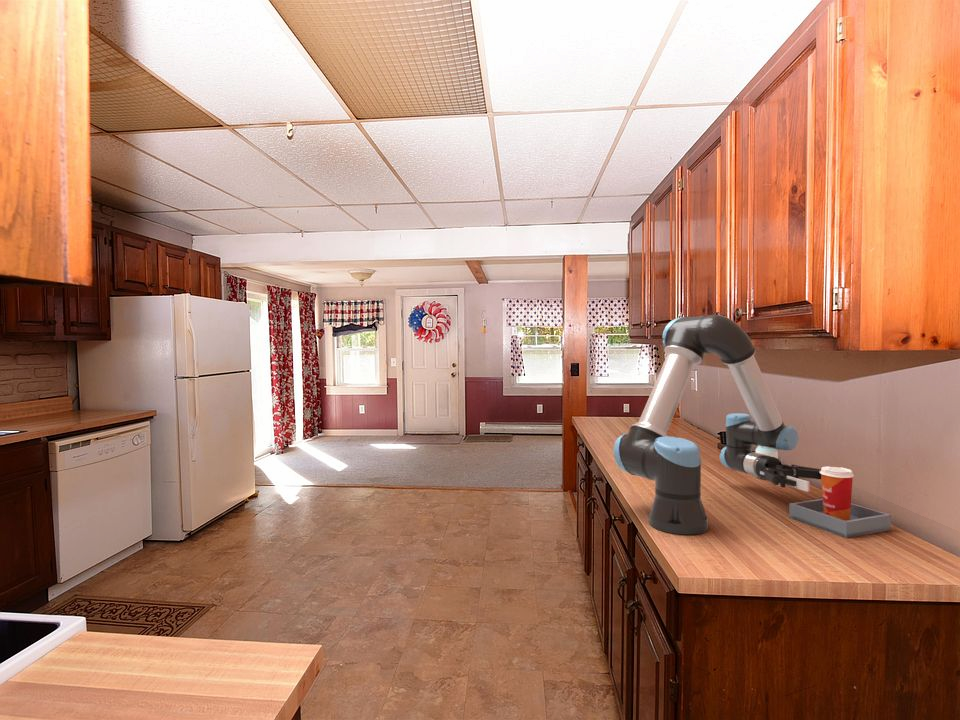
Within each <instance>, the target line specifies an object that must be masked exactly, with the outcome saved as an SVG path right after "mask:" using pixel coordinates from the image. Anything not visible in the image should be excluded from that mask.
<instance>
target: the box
mask: <svg viewBox="0 0 960 720" xmlns="http://www.w3.org/2000/svg"><path fill="white" fill-rule="evenodd" d="M788 506H789V509H788V510H789V511H788V512H789V515H788V516H789V518H790V519H791V520H792V519H793V520H795V521H798V522H801V523H803V524H806V525H810V526H813V527H814V528H818V529H820V530H822V531H825V532H828V533H831V534H834V535H837V536H839V537H842V538H845V539H848V538H853V537H858V536H865V535H870V534H871V535H872V534H875V533H876V534H877V533H882V532H886V531H891V530H892V514H890V513H886V512H884V511H883V512H882V511H880V510H876V509H873V508H869V507H867V506H862V505H858V504H856V503H852V502H851V512H850V520H848V521H844V520H841V519H838V518H835V517H832V516H829V515H826V514H824V508H823V498H819V499H817V498H816V499H812V500H804V501H797V502H791V503H789V505H788Z"/></svg>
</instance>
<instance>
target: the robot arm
mask: <svg viewBox="0 0 960 720" xmlns="http://www.w3.org/2000/svg"><path fill="white" fill-rule="evenodd" d="M662 339H663V340H662V345H663V347H664V349H663V351H664V354H665V355H666V357H665V359H664V362H663V364H662V366H661V369H660V371H659V372H658V376H657V378H656V381H655V382H654V385H653V387H652V390H651V393H650V395H649V397H648V399H647V402H646V403H645V406H644V409H643V410H642V413H641V415H640V417H639V419H638V422H636V423H633V424H631V426H630V428H629V431H628V432H627V433H623V434H622V435H619V437H617V439H616V440H615V443H614V445H613V450H612V451H613V458H614V461H615V463H616V465H617V467H618V468H619V469H620V470H621V471H623V472H626V473H628V474H630V475H632V476H636V477H640V478H644V479H646V480H647V479H648V480H650V481H653V482H654V484H655V485H654V489H655V490H654V491H655V495H654V497H653V498H654V499H653V501H652V504H651V508H650V511H649V514H648V524H649V525H650V526H651V527H652V528H655V529H656V530H659V531H662V532H666V533H669V534H674V535H675V534H676V535H688V536H689V535H699V534H703V533H705V532H707V531H708V529H709V519H708V516H707V514H706V511H705V508H704V504H703V502H702V498H701V496H702V493H701V491H702V490H701V488H702V486H701V484H702V482H701V481H702V480H701V478H702V477H701V476H702V475H701V474H702V458H701V450H700V447H699V446H698V445H697V444H696V443H695V442H693V441H691V440H689V439H687V438H682V437H675V436H668V435H667V433H668V430H669V427H670V426H671V423H672V421H673V418H674V416H675V413H676V411H677V408H678V406H679V403H680V402H681V399H682V396H683V394H684V391H685V389H686V386H687V385H688V383H689V379H690V378H691V374H692V371H693V369H694V368H695V366H698V365H701V364H702V363H703V362H702V361H703V360H704V356H705V355H706V354H715V355H717V357H718V358H719V359H720V361H721V363H722V364H724V365H727V367H728V369H729V372H730V373H731V376H732V378H733V380H734V382H735V384H736V386H737V389H738V391H739V393H740V395H741V398H743V399H742V400H743V401H744V403H745V406H746V408H747V410H748V411H749V412H748V413H749V414H748V413H742V412H741V413H740V412H739V413H736V412H735V413H734V412H733V413H729V414H727V415H726V418H725V436H726V439H725V441H726V446H724V447H723V448H722V449H721V451H720V453H719V461H720V464H722V465H723V466H724V467H726V468H727V469H730V470H732V471H736V472H740V473H744V474H746V475H750V476H752V477H753V476H754V478H755V479H757V478H758V477H760V478H762V479H761V480H764V479H766V480H765V481H768V482H770V483H771V484H773V485H775V486H778V485H779V484H780V487H781V488H786V487H791V488H793V489H794V488H795V489H797V490H801V491H804V492H807V493H808V492H809V493H810V489H811V488H810V487H811V486H810V480H809V481H808V480H804V479H805V478H806V479H814V480H821V474H820V473H819V472H820V471H821V468H815V467H810V466H809V467H808V466H807V467H806V466H802V465H801V466H800V465H796V464H791V465H790V464H783V463H782V462H781V461H780V459H779V458H778V459H777V458H775V457H771V456H767V455H764V454H760V453H756V451H752V446H753V445H754V446H757V447H758V446H763V447H769V448H774V449H777V450H780V451H781V450H782V451H792V450H794V449H795V448H796V447H797V445H798V443H799V432H798V430H797V429H796V428H795V427H793V426H789V425H785V422H784V420H783V418H782V417H781V416H782V415H781V414H780V412H779V410H778V408H777V404H776V403H775V401H774V398H773V396H772V394H771V391H770V389H769V387H768V385H767V382H766V380H765V378H764V376H763V373H762V371H761V369H760V367H759V364H758V362H757V360H756V359H757V358H755V353H756V352H757V351H756V348H755V346H754V343H753V342H752V340H751V338H750V337H749V335H748V334H747V333H746V331H745V330H744V329H743V327H741V326H740V325H739V324H738V323H736V321H734V320H732V319H731V318H729V317H727V316H724V315H721V314H709V315H700V316H699V315H698V316H682V317H677V318H675V319H672V320H671V321H669V322H668V323H667V324H666V325H665V328H664V329H663V332H662ZM751 418H752V419H751ZM752 420H753V421H752ZM760 478H759V479H760ZM801 478H804V479H801Z"/></svg>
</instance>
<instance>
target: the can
mask: <svg viewBox="0 0 960 720" xmlns="http://www.w3.org/2000/svg"><path fill="white" fill-rule="evenodd" d="M755 453H760V454H764V455H767V456H771V457H775V458H777V459H779V451H778V450H777V449H774V448H769V447H763V446H758V445H757V447H756V448H755ZM758 479H760V477H759V478H758Z"/></svg>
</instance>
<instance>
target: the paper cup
mask: <svg viewBox="0 0 960 720" xmlns="http://www.w3.org/2000/svg"><path fill="white" fill-rule="evenodd" d="M820 469H821V471H820V472H819V473H820V474H821V479H820V480H821V492H822V499H823V508H824V514H826V515H829V516H832V517H835V518H838V519H841V520H844V521H848V520H850V512H851V503H852V497H853V495H852V494H853V478H854V477H855V475H854V474H853V470H852V469H850V468H845V467H837V466H822V467H821V468H820Z"/></svg>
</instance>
